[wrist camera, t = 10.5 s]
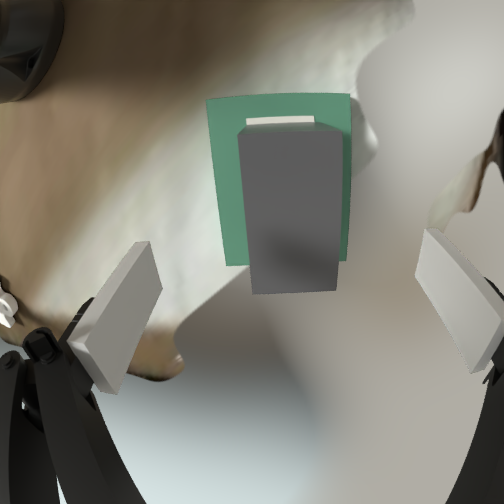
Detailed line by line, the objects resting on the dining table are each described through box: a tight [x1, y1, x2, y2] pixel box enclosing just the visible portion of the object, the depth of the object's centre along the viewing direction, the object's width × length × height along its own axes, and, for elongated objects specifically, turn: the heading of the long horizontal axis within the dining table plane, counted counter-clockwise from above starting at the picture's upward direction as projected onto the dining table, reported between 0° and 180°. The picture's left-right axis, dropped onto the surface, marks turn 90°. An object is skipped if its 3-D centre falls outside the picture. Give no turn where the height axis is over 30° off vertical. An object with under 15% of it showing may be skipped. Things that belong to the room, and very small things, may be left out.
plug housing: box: [237, 122, 343, 294], centre depth 22 cm, size 11×6×8 cm, turn 4°
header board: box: [206, 93, 351, 266], centre depth 24 cm, size 16×12×6 cm
